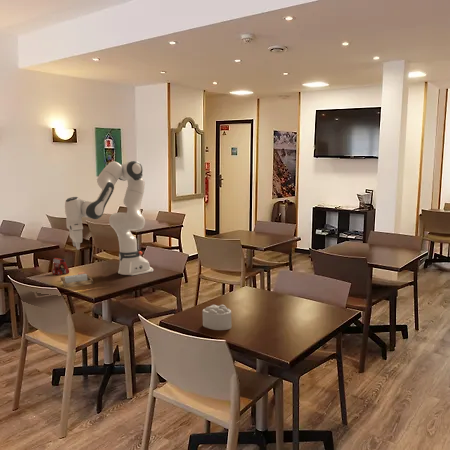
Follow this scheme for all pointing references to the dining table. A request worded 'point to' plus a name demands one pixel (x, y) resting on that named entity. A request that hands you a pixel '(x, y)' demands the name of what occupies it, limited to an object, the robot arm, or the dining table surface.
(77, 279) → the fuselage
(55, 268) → the toy fire truck
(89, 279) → the jig
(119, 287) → the dining table surface
